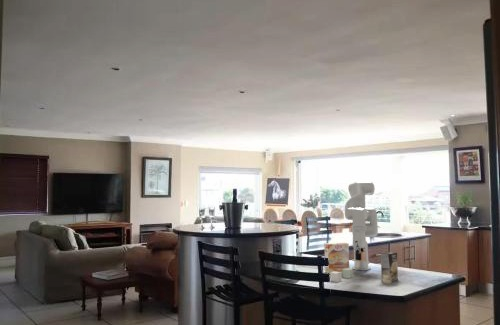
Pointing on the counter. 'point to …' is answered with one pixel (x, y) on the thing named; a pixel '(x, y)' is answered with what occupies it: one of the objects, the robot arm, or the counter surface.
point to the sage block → (347, 272)
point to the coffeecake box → (337, 256)
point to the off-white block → (335, 276)
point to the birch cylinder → (386, 278)
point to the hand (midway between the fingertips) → (360, 259)
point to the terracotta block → (363, 256)
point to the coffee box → (389, 264)
